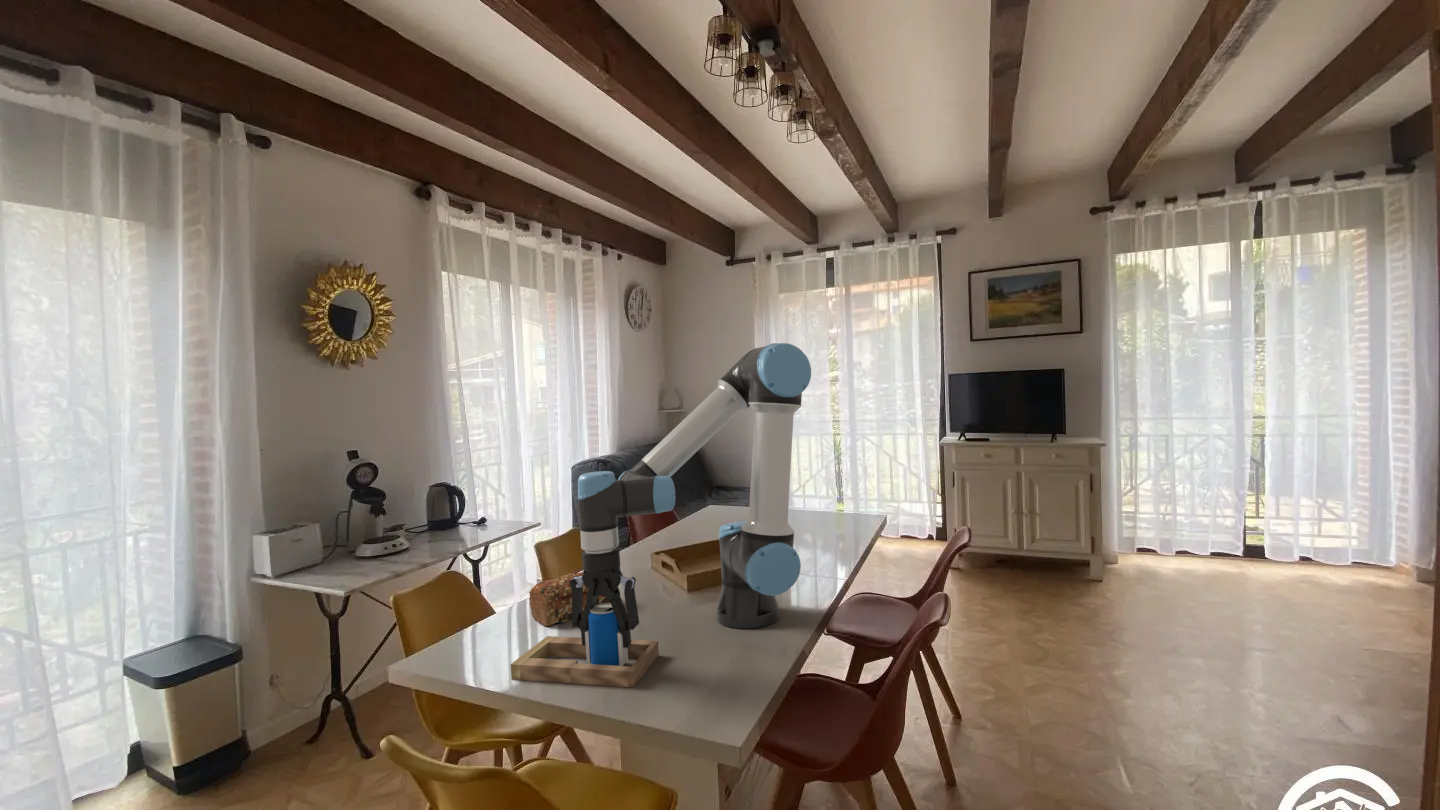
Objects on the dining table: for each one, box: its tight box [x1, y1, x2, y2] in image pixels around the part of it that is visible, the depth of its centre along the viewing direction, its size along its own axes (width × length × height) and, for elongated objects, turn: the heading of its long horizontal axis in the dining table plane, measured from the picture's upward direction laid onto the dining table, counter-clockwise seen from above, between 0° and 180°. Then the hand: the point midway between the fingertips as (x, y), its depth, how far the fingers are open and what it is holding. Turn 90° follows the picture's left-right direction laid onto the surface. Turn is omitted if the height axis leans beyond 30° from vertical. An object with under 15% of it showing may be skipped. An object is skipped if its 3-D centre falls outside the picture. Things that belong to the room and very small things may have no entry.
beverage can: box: [588, 603, 621, 666], centre depth 123 cm, size 6×6×12 cm
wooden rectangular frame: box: [510, 635, 660, 688], centre depth 124 cm, size 26×14×3 cm, turn 76°
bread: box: [528, 572, 610, 627], centre depth 156 cm, size 19×11×10 cm, turn 129°
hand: (607, 661), depth 123 cm, fingers closed on beverage can, 6 cm apart
